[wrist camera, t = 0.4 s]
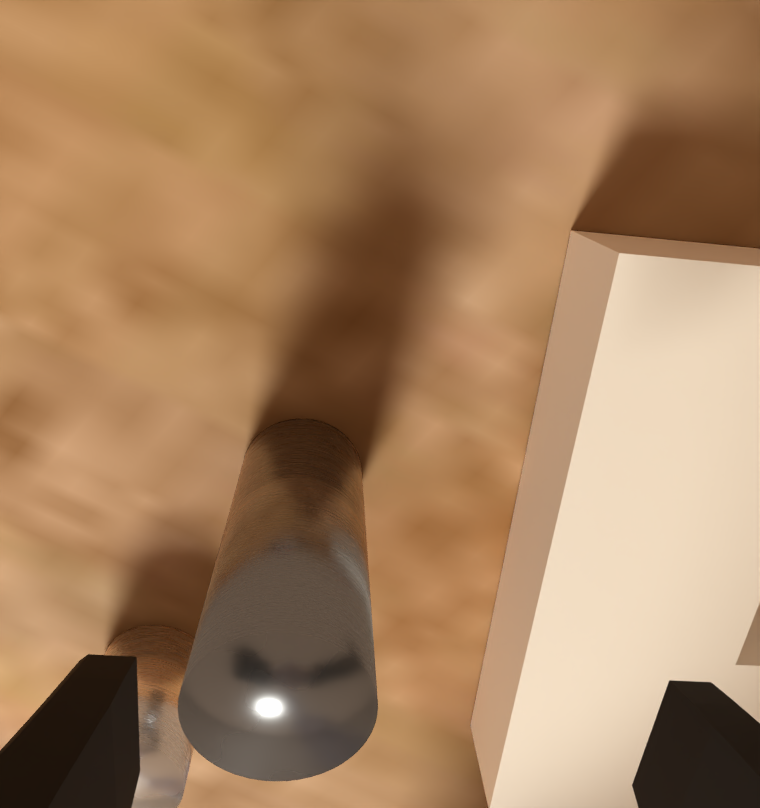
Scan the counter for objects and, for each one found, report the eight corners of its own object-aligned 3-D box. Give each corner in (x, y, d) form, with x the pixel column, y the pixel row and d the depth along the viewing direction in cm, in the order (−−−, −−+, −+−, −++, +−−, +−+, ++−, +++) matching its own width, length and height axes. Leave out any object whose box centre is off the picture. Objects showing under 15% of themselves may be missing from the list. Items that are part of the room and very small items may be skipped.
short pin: (210, 707, 21) (184, 830, 18) (106, 704, 21) (57, 828, 17) (211, 627, 20) (183, 740, 16) (100, 622, 20) (46, 737, 16)
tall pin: (356, 526, 19) (368, 783, 12) (241, 520, 19) (178, 779, 11) (366, 422, 18) (387, 636, 10) (244, 414, 18) (176, 628, 10)
